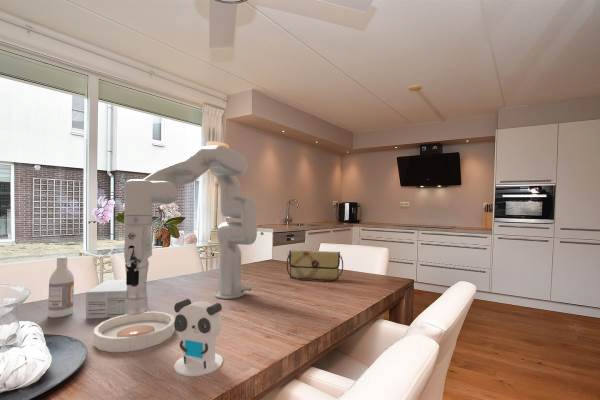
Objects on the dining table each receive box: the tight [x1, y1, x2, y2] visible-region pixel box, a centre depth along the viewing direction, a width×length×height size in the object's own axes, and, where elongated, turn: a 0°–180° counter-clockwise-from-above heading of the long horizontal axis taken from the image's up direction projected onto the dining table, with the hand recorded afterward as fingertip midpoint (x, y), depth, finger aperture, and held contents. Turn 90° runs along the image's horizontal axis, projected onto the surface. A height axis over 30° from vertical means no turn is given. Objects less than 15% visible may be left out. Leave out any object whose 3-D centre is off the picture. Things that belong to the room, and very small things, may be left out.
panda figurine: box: [173, 298, 223, 377], centre depth 78 cm, size 12×11×15 cm
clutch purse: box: [286, 249, 344, 283], centre depth 167 cm, size 30×7×15 cm, turn 83°
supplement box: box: [85, 278, 127, 320], centre depth 117 cm, size 17×13×9 cm
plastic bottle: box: [124, 258, 150, 315], centre depth 94 cm, size 6×7×20 cm
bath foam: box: [47, 256, 75, 319], centre depth 111 cm, size 7×7×20 cm
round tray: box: [93, 311, 176, 353], centre depth 94 cm, size 21×21×4 cm
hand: (137, 281), depth 94 cm, fingers closed on plastic bottle, 6 cm apart
